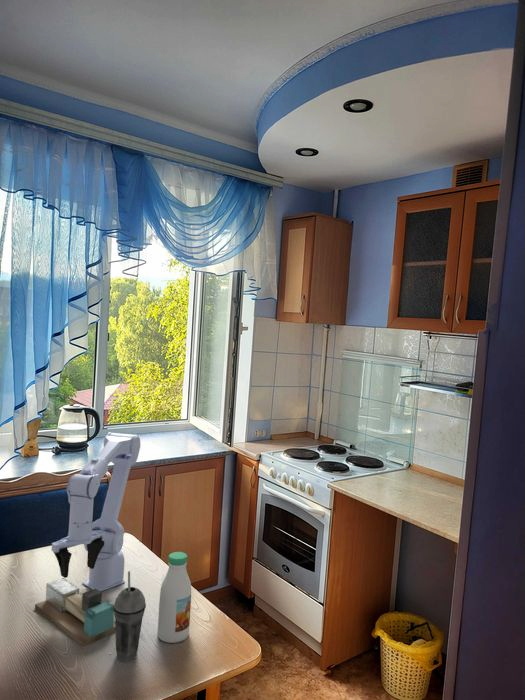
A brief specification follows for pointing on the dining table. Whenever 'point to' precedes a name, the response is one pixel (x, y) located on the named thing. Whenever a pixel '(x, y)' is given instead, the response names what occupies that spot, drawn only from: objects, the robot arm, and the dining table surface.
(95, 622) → the socket
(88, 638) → the base board
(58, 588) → the sleeve
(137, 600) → the beverage cup
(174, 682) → the dining table surface
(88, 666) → the dining table surface
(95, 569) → the robot arm
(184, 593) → the milk bottle
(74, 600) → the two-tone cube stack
